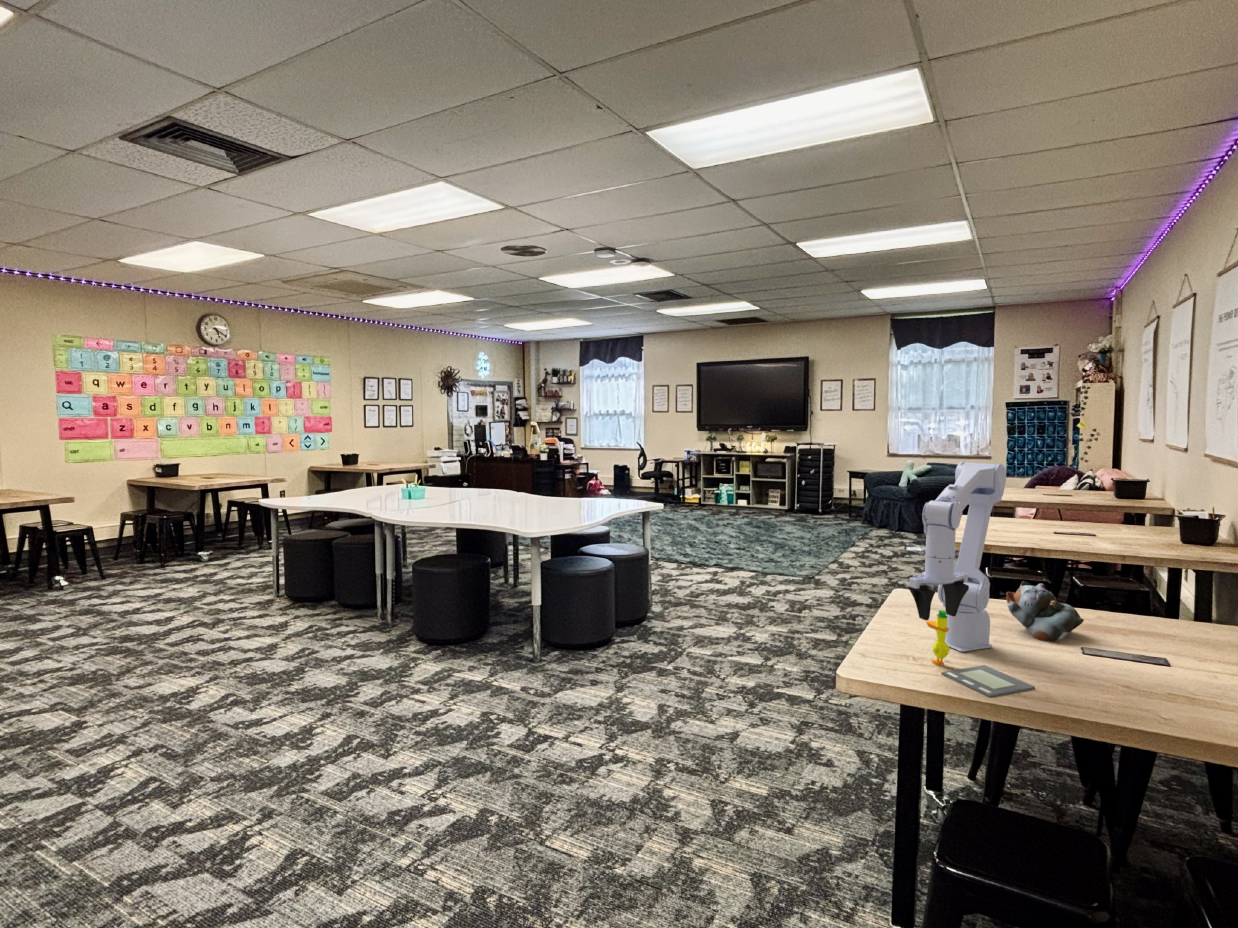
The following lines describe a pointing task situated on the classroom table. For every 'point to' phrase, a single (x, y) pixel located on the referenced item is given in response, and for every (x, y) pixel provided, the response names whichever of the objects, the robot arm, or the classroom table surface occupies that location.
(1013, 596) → the lucky cat figurine
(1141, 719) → the classroom table surface
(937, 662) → the toy figure
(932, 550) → the robot arm
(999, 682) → the display panel
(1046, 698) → the classroom table surface
